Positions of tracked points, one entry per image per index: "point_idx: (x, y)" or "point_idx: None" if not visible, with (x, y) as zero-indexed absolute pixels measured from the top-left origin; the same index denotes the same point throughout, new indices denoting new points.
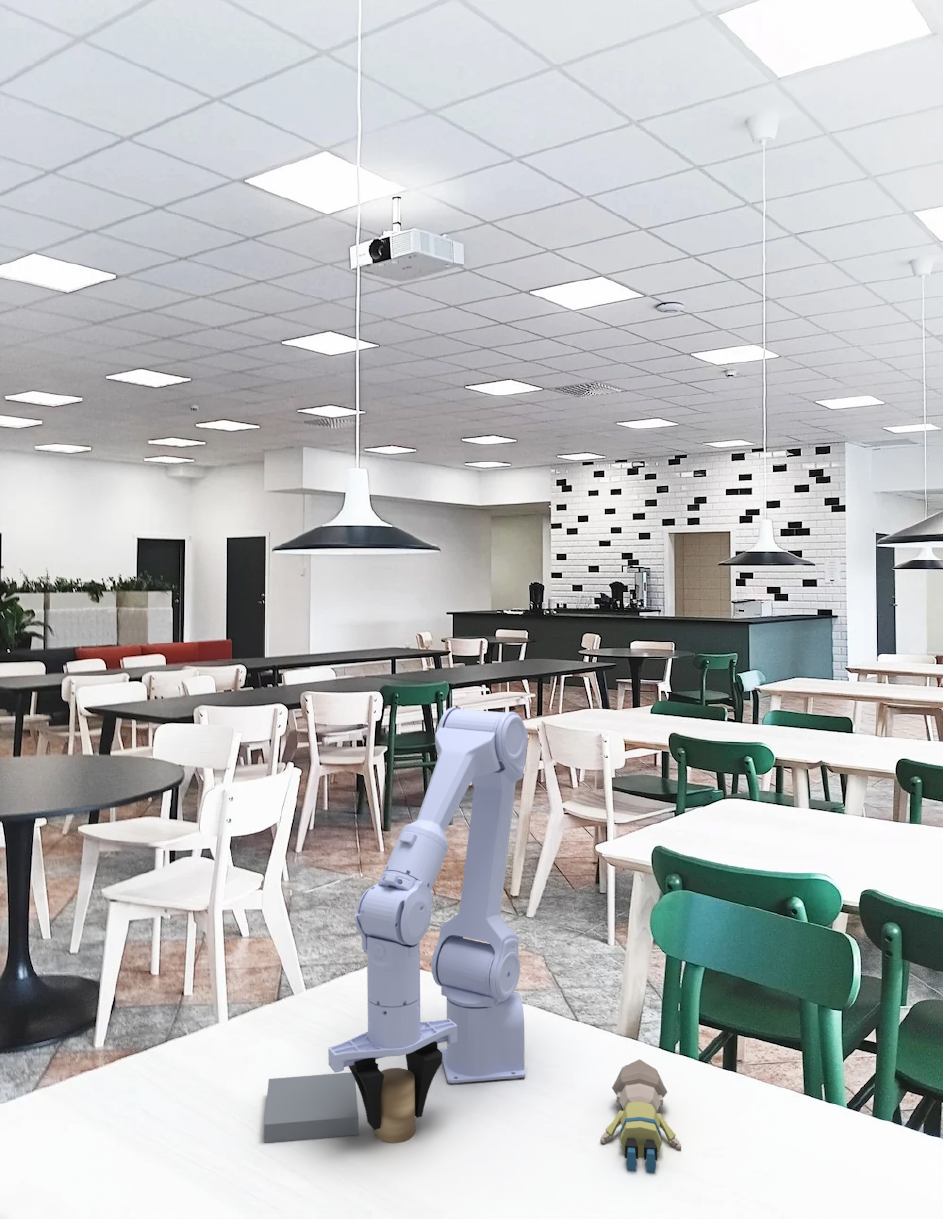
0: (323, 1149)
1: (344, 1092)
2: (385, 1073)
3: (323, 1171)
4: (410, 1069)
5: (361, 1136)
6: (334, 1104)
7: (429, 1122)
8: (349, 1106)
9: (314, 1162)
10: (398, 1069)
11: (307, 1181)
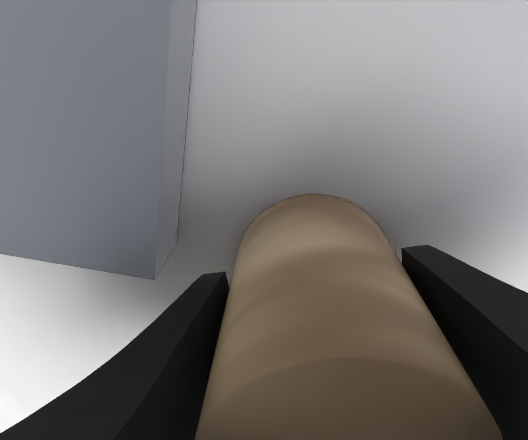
0: (51, 283)
1: (97, 16)
2: (296, 407)
3: (57, 378)
4: (520, 406)
5: (186, 254)
6: (41, 139)
7: (457, 249)
8: (120, 182)
9: (27, 335)
10: (424, 387)
11: (16, 401)
